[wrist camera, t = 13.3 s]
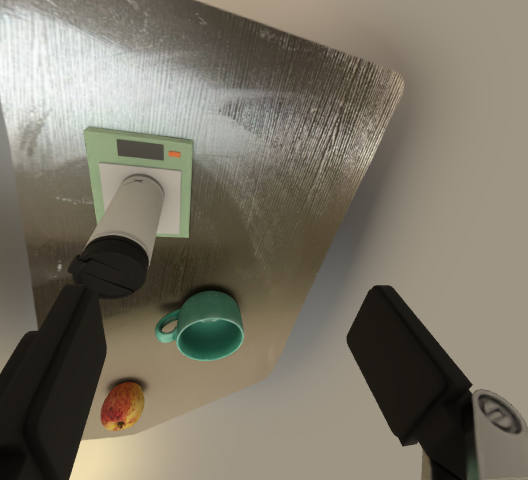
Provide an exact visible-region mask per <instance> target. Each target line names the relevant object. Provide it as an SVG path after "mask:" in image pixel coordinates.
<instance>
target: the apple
mask: <svg viewBox="0 0 528 480" xmlns="http://www.w3.org/2000/svg"><path fill="white" fill-rule="evenodd" d="M143 408H144V395H143V392H142V389H141V387H140V386H139V385H138V384H137V383H134V382H125V383H121V384H119V385H117V386H116V387H114V388H113V390H112V391H111V392H110V393H109V394H108V396H107V397H106V399H105V401H104V403H103V406H102V409H101V422H102V424H103V426H104V427H105V428H106V429H108V430H111V431H118V430H123V429H126V428H129V427H131V426H132V425H134V424H135V423H136V422H137V421H138V419H139V417H140V416H141V413H142V411H143Z"/></svg>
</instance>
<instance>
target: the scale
mask: <svg viewBox="0 0 528 480" xmlns="http://www.w3.org/2000/svg"><path fill="white" fill-rule="evenodd" d="M83 132H84V138H85V145H86V152H87V159H88V166H89V173H90V179H91V186H92V193H93V200H94V207H95V213H96V220H97V225H98V223H99V222H100V220H101V218H102V216H103V215H104V213H105V211H106V209H107V208H108V206H109V204H110V202H111V201H112V199H113V197H114V195H115V194H116V192H117V190H118V188H119V187H120V185H121V183H122V181H123V180H124V179H125V178H127V177H128V176H131V175H134V174H144V175H148V176H150V177H152V178H154V179H155V180H157V181H158V182H159V183H160V185H161V186H162V188H163V190H164V202H163V207H162V211H161V216H160V220H159V225H158V229H157V234H156V236H161V237H183V238H189V221H190V199H191V177H192V155H193V140H187V139H179V138H171V137H164V136H156V135H148V134H140V133H132V132H125V131H117V130H109V129H101V128H94V127H88V128H86V129H85V130H84V131H83Z"/></svg>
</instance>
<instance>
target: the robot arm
mask: <svg viewBox="0 0 528 480" xmlns="http://www.w3.org/2000/svg"><path fill="white" fill-rule="evenodd" d="M347 344H348V346H349V348H350V350H351V352H352V354H353V356H354V358H355V360H356V362H357V364H358V366H359V368H360V370H361V372H362V374H363V376H364V378H365V380H366V382H367V384H368V386H369V388H370V390H371V392H372V393H373V396H374V397H375V399H376V401H377V403H378V405H379V407H380V409H381V411H382V413H383V415H384V417H385V419H386V421H387V423H388V425H389V427H390V429H391V431H392V432H393V434H394V435H395V436H397V437H398V438H399V440H400V442H401V444H402V446H408V445H414V444H417V443H418V442H419V443H420V445H421V446H422V448H423V456H422V479H421V480H528V427H527V425H526V422H525V420H524V419H523V417H522V416H521V414H520V413H519V412H518V411H517V410H516V409H515V407H514V406H513V405H512V404H510V403H509V402H508V401H507V400H505V399H504V398H502V397H501V396H499V395H498V394H496V393H493V392H491V391H489V390H484V389H479V390H476V391H475V392H474V393H473V394H472V393H471V392H470V391H469V388H470V387H471V386H472V383H471V382H470V381H469V380H468V378H467V377H466V376H465V375H464V374H463V372H462V371H461V370H460V369H459V368H458V366H457V365H456V364H455V363H454V362H453V360H452V359H451V358H450V357H449V355H448V354H447V353H446V352H445V350H444V349H443V348H442V347H441V346H440V345H439V343H438V342H437V341H436V339H435V338H434V337H433V336H432V335H431V333H430V332H429V331H428V330H427V329H426V327H425V326H424V325H423V324H422V322H421V321H420V320H419V319H418V318H417V317H416V315H415V314H414V313H413V311H412V310H411V309H410V308H409V307H408V305H407V304H406V303H405V302H404V301H403V299H402V298H401V297H400V296H399V294H398V293H397V292H396V291H395V290H394V288H392V287H391V286H389V285H376V286H374V287H373V288H372V289H371V290H369V291H368V294H367V295H366V298H365V299H364V302H363V304H362V306H361V308H360V310H359V312H358V314H357V316H356V318H355V320H354V322H353V324H352V326H351V328H350V331H349V332H348V334H347ZM106 351H107V346H106V340H105V334H104V328H103V322H102V317H101V311H100V305H99V299H98V293H97V290H96V289H91V288H90V285H89V284H66V285H65V286H64V287H63V289H62V290H61V292H60V294H59V296H58V297H57V299H56V301H55V303H54V305H53V306H52V308H51V310H50V312H49V313H48V315H47V317H46V319H45V321H44V322H43V324H42V326H41V328H40V329H39V331H29V332H28V333H26V334H25V335H24V336H23V338H22V339H21V340H20V342H19V344H18V346H17V347H16V349H15V350H14V352H13V354H12V355H11V357H10V359H9V360H8V362H7V364H6V365H5V367H4V368H3V370H2V372H1V374H0V480H69V478H70V475H71V472H72V468H73V464H74V462H75V458H76V455H77V452H78V448H79V445H80V441H81V438H82V435H83V431H84V428H85V425H86V421H87V418H88V415H89V411H90V408H91V405H92V401H93V398H94V395H95V391H96V388H97V384H98V381H99V378H100V374H101V371H102V368H103V364H104V361H105V357H106Z"/></svg>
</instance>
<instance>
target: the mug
mask: <svg viewBox="0 0 528 480" xmlns="http://www.w3.org/2000/svg"><path fill="white" fill-rule="evenodd" d="M175 320H178V322H177V327H175V328H174V330H173V331H171V332H169V333H164V332H162V331H161V330H162V328H163V327H164V326H165V325H167V324H168V323H170V322H172V321H175ZM155 334H156V337H157V339H158V340H159V341H160V342H163V343H167V342H171V341H174V340H176V343H177V347H178V349H179V351H180V352H181V353H182V354H184V355H185V356H187V357H189V358H191V359H195V360H200V361H212V360H218V359H221V358H224V357H226V356H229V355H230V354H232V353H233V352H235V351H236V350H237V349H238V348H239V347H240V346H241V344H242V342H243V339H244V331H243V324H242V319H241V314H240V310H239V307H238V305H237V303H236V302H235V301H234V299H233V298H231V297H230V296H229V295H227V294H225V293H222V292H219V291H204V292H200V293H197V294H195V295H193V296H192V297H190V298H189V299H188V300H187V301H186V302H185V303H184V304H183V306H182V307H181V309H178V310H175V311H173V312H171V313H169V314H167V315H166V316H164V317H163V318H162V319H161V320H160V321H159V322H158V323H157V325H156V328H155Z"/></svg>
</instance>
